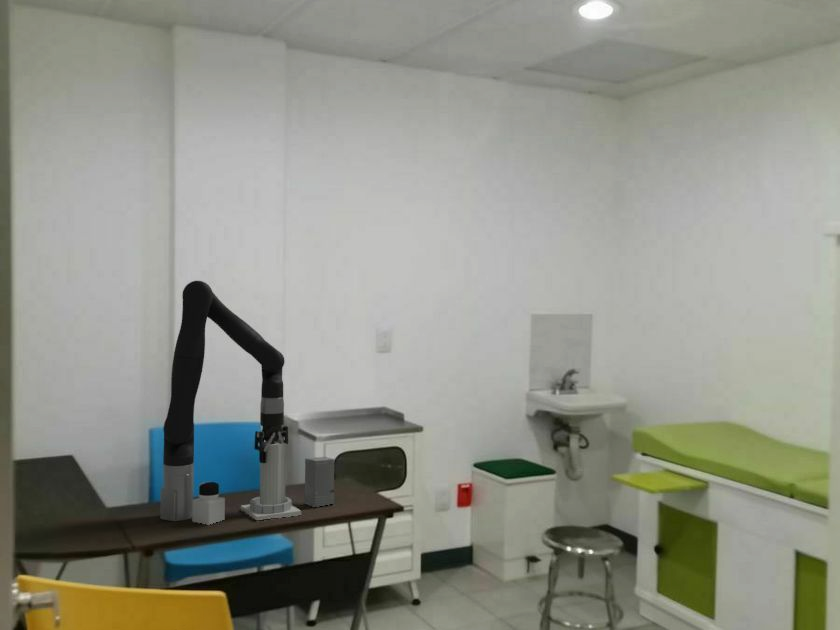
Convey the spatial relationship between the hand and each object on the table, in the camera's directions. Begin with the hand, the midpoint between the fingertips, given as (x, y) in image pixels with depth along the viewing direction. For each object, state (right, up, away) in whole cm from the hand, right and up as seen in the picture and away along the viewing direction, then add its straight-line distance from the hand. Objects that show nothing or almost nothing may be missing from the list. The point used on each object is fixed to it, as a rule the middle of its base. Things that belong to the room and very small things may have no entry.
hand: (271, 460), depth 269 cm
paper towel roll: (0, -16, 0) cm, 16 cm away
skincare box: (+14, -17, +12) cm, 25 cm away
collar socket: (0, -17, +1) cm, 17 cm away
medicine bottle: (-18, -17, -10) cm, 27 cm away
